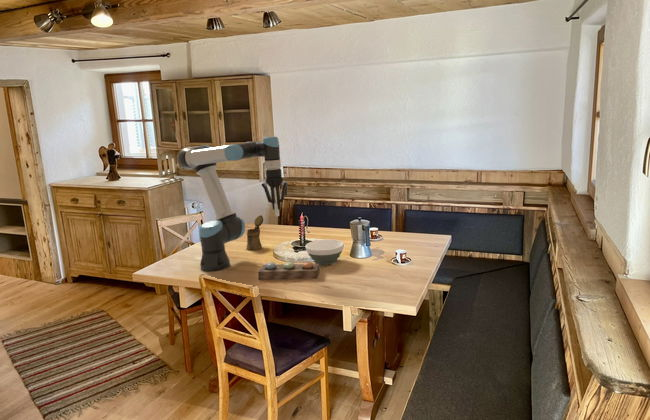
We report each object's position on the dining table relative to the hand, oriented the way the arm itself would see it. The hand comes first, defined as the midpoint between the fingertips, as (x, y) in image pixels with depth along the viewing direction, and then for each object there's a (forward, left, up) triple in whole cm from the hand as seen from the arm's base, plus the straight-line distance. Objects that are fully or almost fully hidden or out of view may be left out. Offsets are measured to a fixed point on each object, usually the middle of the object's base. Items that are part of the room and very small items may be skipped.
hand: (277, 215), depth 233 cm
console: (+7, -14, -26) cm, 31 cm away
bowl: (+22, +5, -27) cm, 35 cm away
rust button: (+16, -14, -25) cm, 33 cm away
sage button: (+7, -14, -25) cm, 30 cm away
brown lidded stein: (-23, +36, -27) cm, 50 cm away
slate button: (-2, -14, -25) cm, 29 cm away
